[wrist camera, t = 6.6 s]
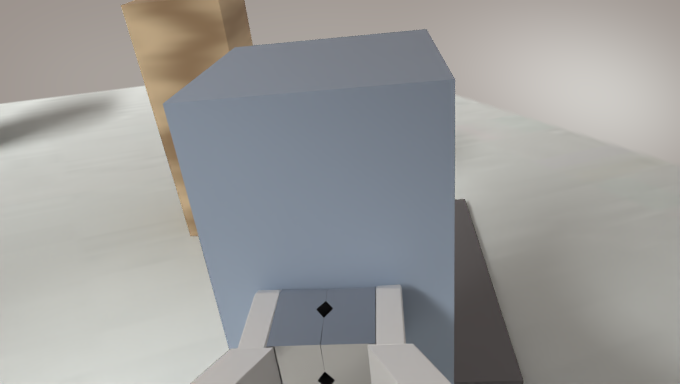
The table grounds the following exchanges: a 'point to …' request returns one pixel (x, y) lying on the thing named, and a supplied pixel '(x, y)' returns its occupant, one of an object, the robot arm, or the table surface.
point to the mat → (478, 314)
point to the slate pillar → (326, 175)
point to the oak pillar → (181, 55)
